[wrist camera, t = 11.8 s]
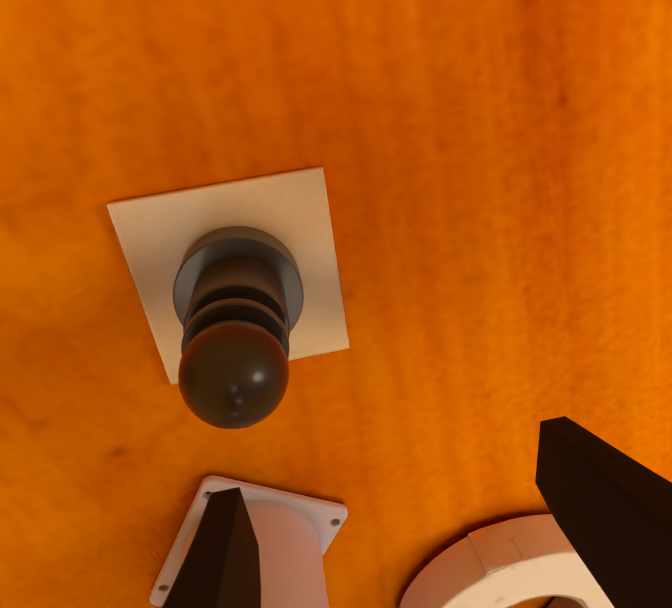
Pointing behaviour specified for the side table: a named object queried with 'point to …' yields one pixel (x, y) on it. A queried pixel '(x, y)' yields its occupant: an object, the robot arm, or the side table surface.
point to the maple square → (224, 211)
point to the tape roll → (507, 570)
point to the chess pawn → (236, 324)
